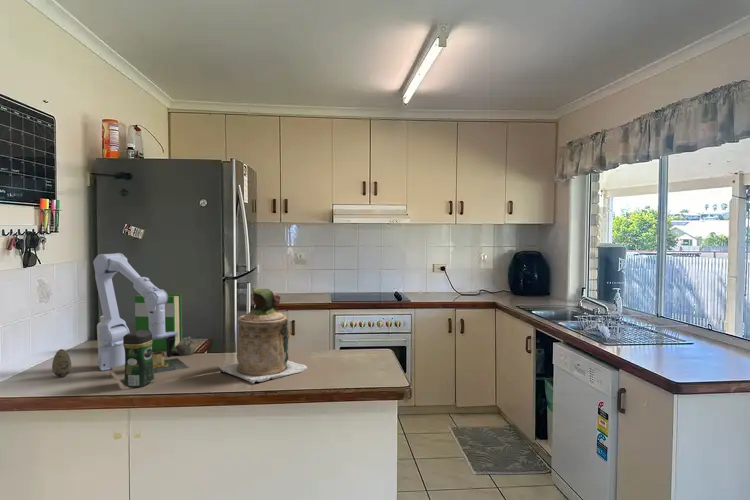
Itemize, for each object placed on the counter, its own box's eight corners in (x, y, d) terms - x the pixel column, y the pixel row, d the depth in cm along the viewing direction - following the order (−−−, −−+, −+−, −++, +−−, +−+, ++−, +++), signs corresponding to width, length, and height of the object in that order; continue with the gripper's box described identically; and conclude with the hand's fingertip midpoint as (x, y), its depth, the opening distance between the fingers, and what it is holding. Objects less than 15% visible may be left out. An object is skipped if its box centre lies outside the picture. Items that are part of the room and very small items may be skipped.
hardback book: (182, 347, 232) (181, 294, 231) (174, 351, 225) (173, 296, 224) (145, 346, 234) (144, 293, 233) (136, 350, 227) (134, 296, 226)
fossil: (169, 351, 221) (180, 330, 223) (189, 360, 224) (200, 339, 225) (167, 357, 211) (179, 335, 212) (188, 366, 213) (200, 344, 215)
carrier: (147, 377, 187) (146, 366, 186) (137, 366, 200) (137, 356, 200) (189, 370, 195) (189, 359, 195) (177, 360, 209) (177, 350, 209)
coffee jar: (137, 379, 184) (136, 327, 183) (157, 380, 183) (156, 328, 182) (119, 387, 174) (118, 333, 173) (141, 388, 173) (139, 334, 172)
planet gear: (150, 372, 189) (149, 356, 189) (145, 367, 195) (145, 352, 195) (170, 369, 193) (169, 353, 193) (165, 364, 199) (165, 350, 199)
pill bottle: (102, 347, 232) (101, 314, 231) (120, 346, 233) (119, 314, 232) (94, 351, 224) (93, 317, 223) (113, 351, 225) (112, 317, 224)
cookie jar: (254, 385, 177) (253, 293, 175) (216, 371, 193) (215, 287, 192) (309, 370, 195) (308, 286, 193) (270, 359, 212) (269, 281, 210)
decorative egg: (75, 374, 190) (74, 347, 189) (62, 379, 184) (61, 351, 183) (62, 373, 191) (61, 346, 191) (48, 378, 185) (47, 350, 185)
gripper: (138, 326, 186) (139, 363, 186) (179, 321, 194) (180, 357, 195) (134, 323, 191) (135, 359, 192) (174, 319, 200) (175, 353, 201)
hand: (157, 358), depth 194 cm, fingers open, 7 cm apart
